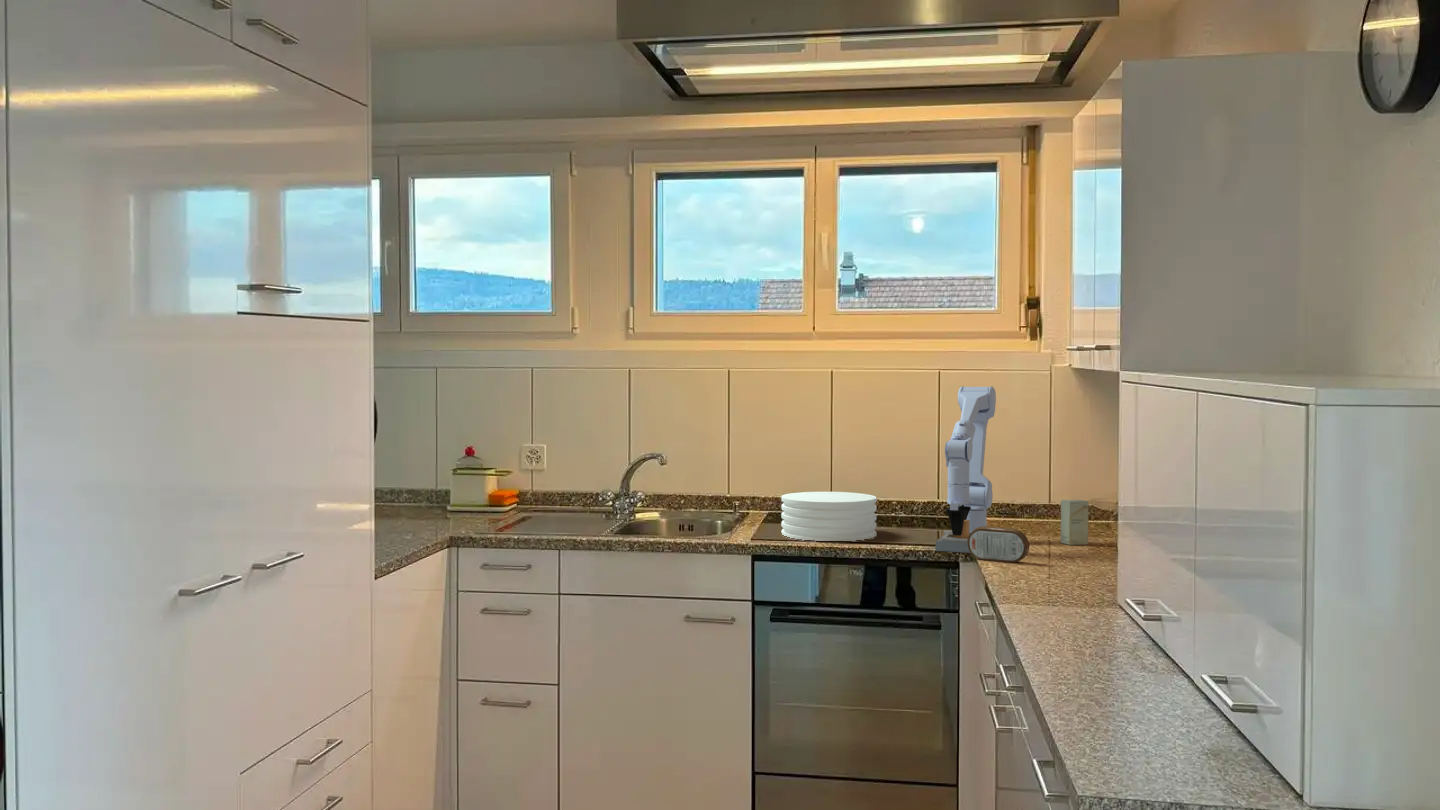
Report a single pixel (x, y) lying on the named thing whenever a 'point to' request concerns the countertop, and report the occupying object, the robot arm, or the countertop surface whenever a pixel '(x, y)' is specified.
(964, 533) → the tan cardboard-like brick
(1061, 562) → the countertop surface
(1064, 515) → the skincare box
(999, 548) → the tin
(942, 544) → the nested square metal frame
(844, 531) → the plate stack
